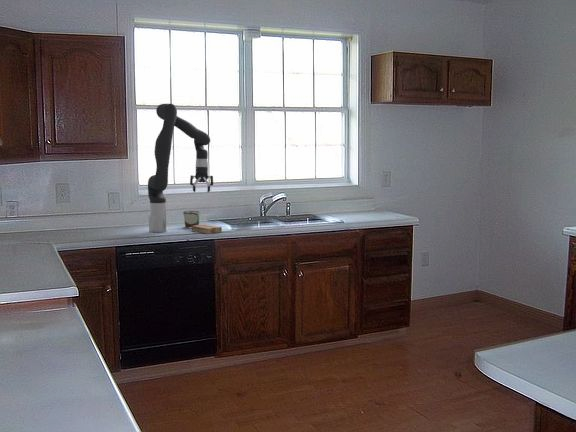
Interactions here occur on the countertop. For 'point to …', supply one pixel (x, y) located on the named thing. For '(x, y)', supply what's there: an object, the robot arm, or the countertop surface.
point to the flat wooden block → (207, 228)
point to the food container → (191, 218)
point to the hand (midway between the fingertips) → (201, 192)
